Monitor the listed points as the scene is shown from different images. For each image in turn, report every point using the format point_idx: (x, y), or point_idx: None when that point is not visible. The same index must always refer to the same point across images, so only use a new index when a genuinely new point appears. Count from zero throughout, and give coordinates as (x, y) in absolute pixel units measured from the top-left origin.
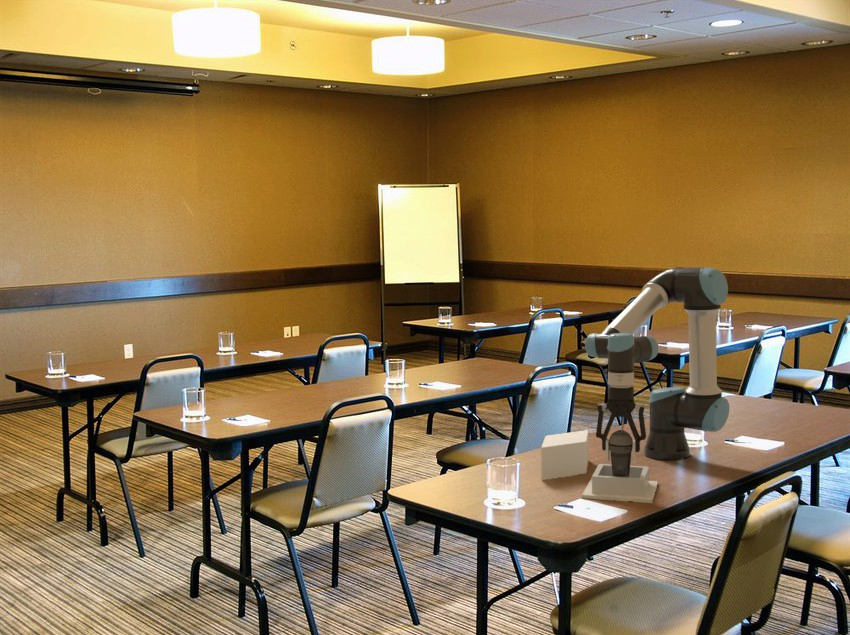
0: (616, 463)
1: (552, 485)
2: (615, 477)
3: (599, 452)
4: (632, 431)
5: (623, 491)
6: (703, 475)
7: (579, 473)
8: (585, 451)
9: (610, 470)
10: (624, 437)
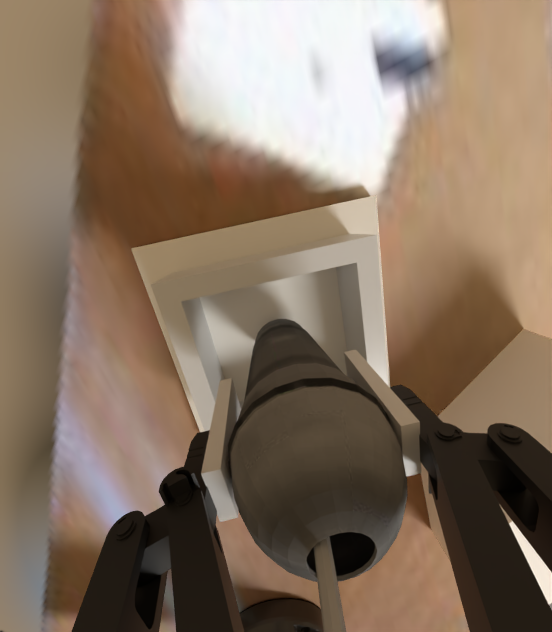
0: (300, 342)
1: (486, 294)
2: (277, 265)
3: (418, 584)
4: (212, 572)
5: (241, 258)
6: None
7: None
8: None
9: None
10: (275, 466)
